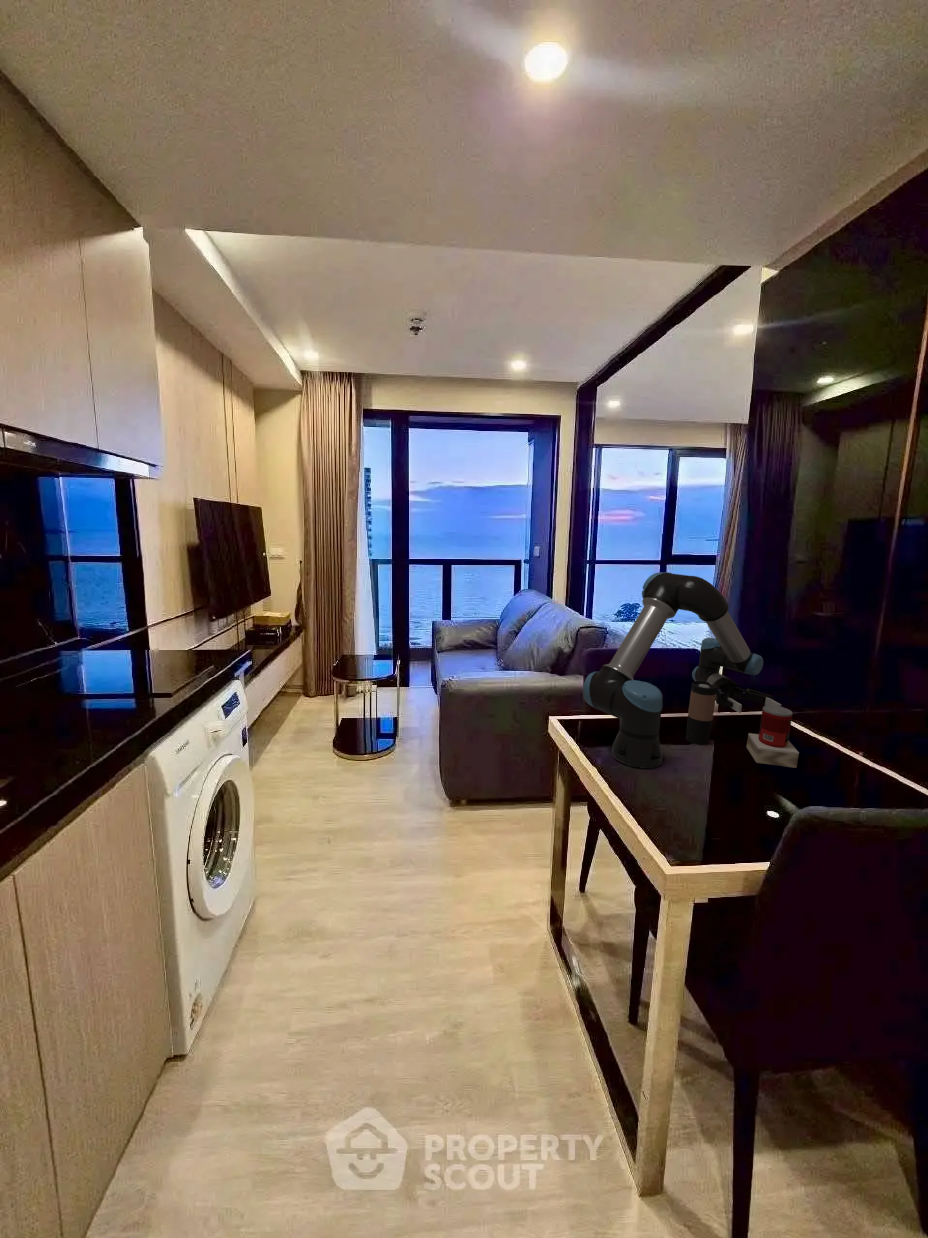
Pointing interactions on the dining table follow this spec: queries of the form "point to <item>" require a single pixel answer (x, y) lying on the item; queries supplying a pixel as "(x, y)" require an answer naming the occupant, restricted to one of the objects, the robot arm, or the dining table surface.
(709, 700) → the travel mug
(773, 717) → the canned food
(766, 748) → the birch plinth
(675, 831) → the dining table surface
